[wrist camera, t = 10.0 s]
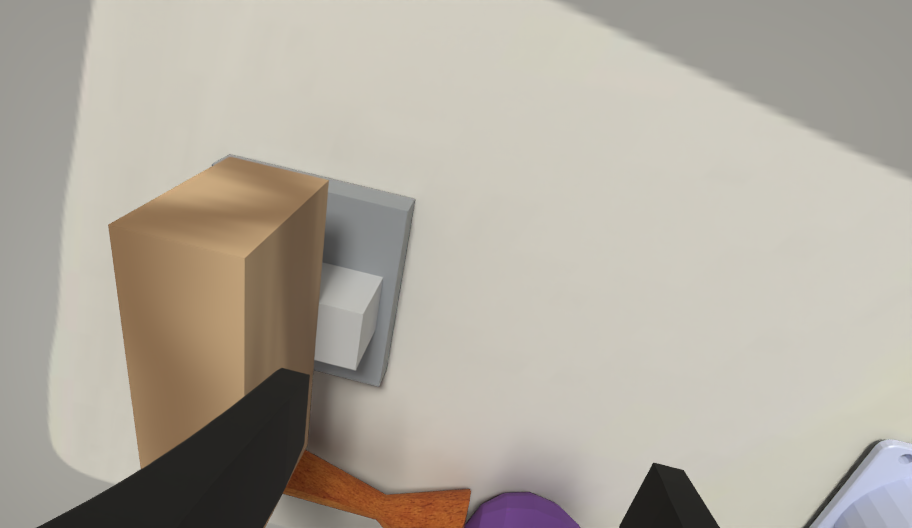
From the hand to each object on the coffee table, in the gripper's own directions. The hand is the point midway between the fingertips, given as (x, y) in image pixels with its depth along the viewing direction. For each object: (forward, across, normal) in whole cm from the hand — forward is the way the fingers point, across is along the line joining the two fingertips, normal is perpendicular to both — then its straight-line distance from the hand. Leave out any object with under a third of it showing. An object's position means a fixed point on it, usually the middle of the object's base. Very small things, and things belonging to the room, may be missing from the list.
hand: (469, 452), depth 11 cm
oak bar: (+6, +7, +3) cm, 10 cm away
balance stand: (+10, +7, +3) cm, 12 cm away
